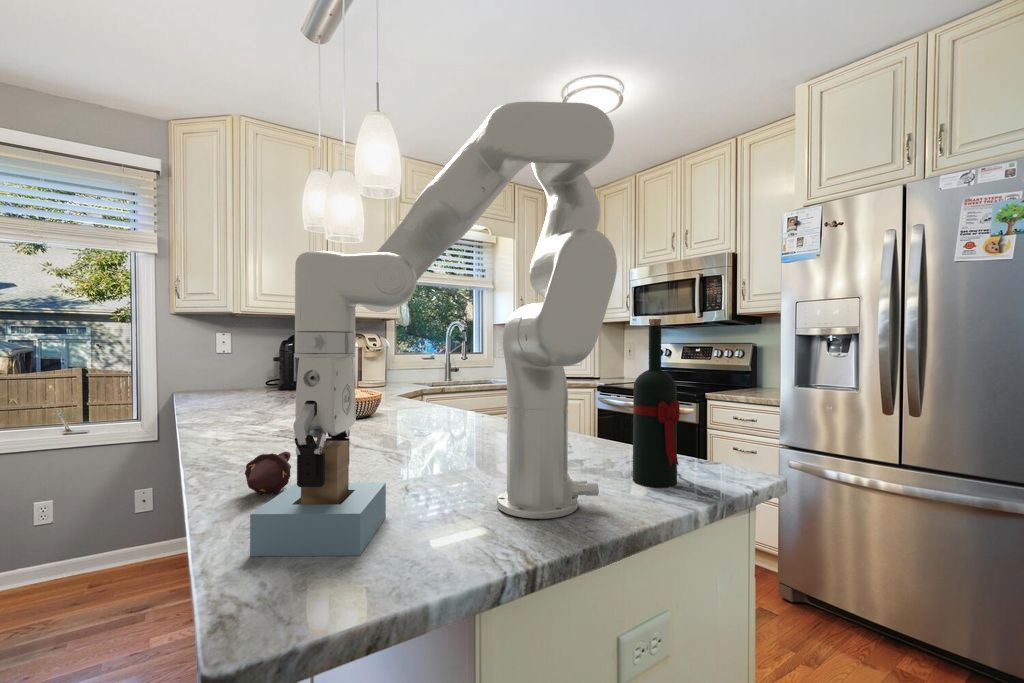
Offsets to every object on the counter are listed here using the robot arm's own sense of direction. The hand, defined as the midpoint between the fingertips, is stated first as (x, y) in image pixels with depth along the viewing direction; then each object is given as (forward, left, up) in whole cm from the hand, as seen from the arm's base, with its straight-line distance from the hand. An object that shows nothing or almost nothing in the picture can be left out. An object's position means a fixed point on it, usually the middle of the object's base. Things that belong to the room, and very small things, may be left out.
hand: (325, 475), depth 65 cm
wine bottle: (-52, -23, -8) cm, 57 cm away
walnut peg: (0, 0, -8) cm, 8 cm away
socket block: (0, 0, -8) cm, 8 cm away
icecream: (+16, -19, -8) cm, 26 cm away
